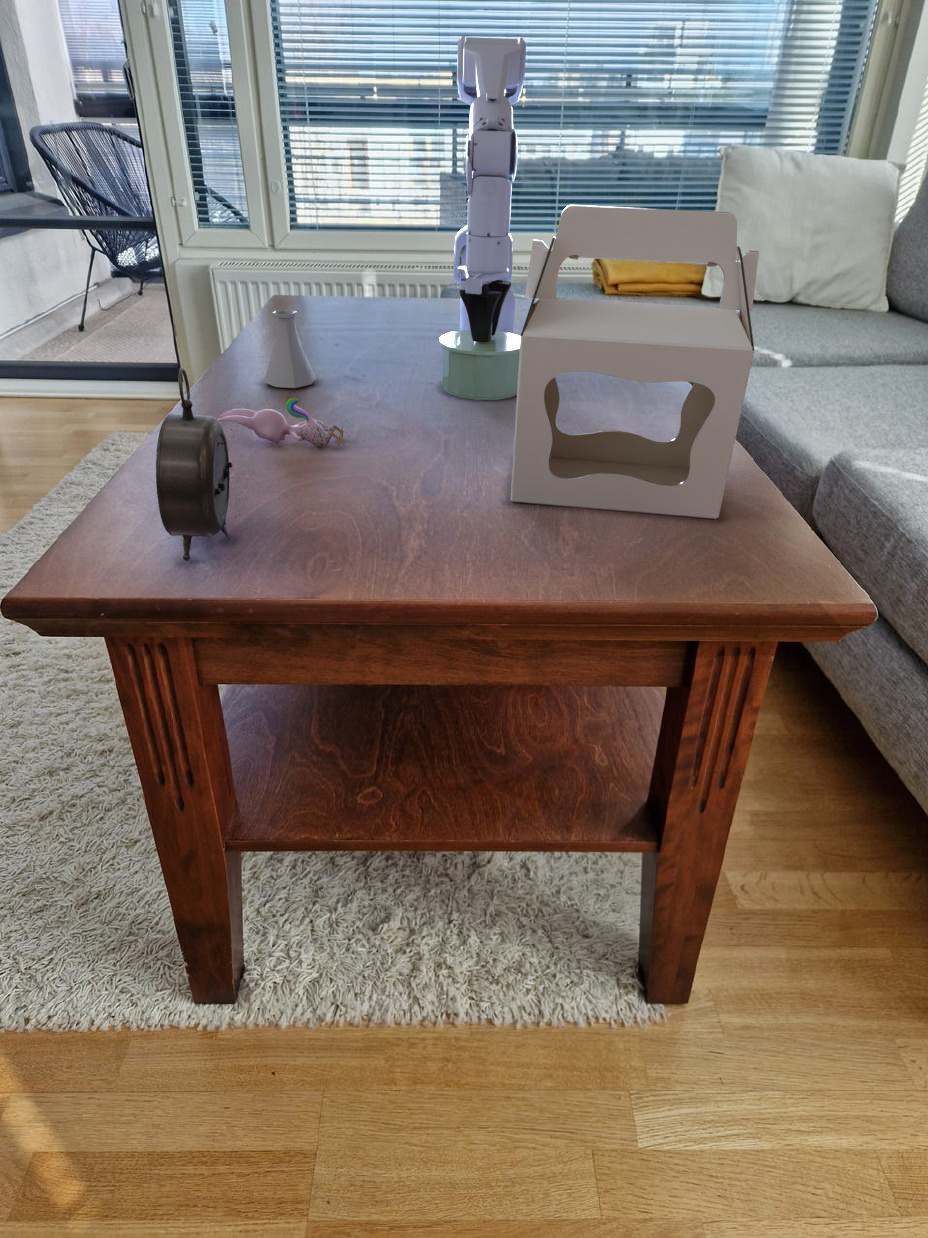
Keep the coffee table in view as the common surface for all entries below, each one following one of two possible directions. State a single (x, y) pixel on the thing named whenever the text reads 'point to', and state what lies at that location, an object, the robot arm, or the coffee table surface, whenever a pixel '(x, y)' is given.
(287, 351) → the flask
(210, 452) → the alarm clock
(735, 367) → the gable box
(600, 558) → the coffee table surface
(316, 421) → the rabbit figure
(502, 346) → the lid
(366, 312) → the coffee table surface
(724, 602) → the coffee table surface
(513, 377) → the jar
